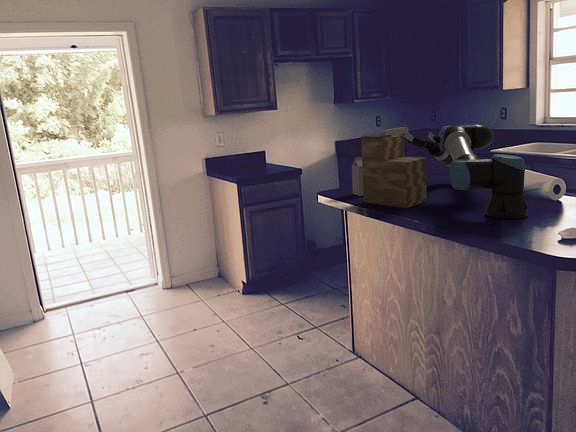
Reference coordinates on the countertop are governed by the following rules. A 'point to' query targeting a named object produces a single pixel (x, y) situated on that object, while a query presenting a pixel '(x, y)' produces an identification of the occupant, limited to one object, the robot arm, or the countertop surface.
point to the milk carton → (357, 176)
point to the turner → (387, 133)
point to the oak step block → (392, 173)
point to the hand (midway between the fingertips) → (417, 134)
